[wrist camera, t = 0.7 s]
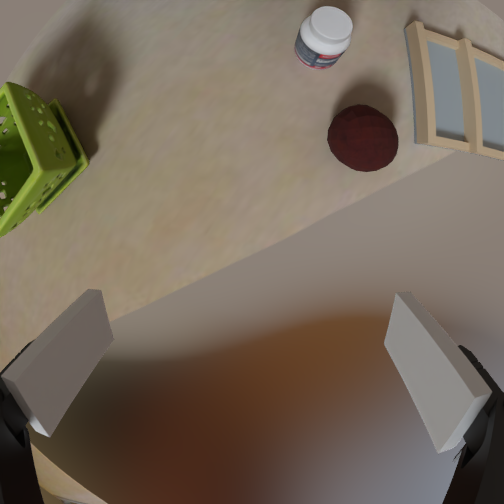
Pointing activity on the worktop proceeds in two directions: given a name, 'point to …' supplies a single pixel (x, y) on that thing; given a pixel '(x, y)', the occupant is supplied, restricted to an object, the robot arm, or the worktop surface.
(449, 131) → the open tray
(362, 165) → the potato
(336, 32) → the pill bottle
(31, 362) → the robot arm
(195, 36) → the worktop surface
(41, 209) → the flower pot
